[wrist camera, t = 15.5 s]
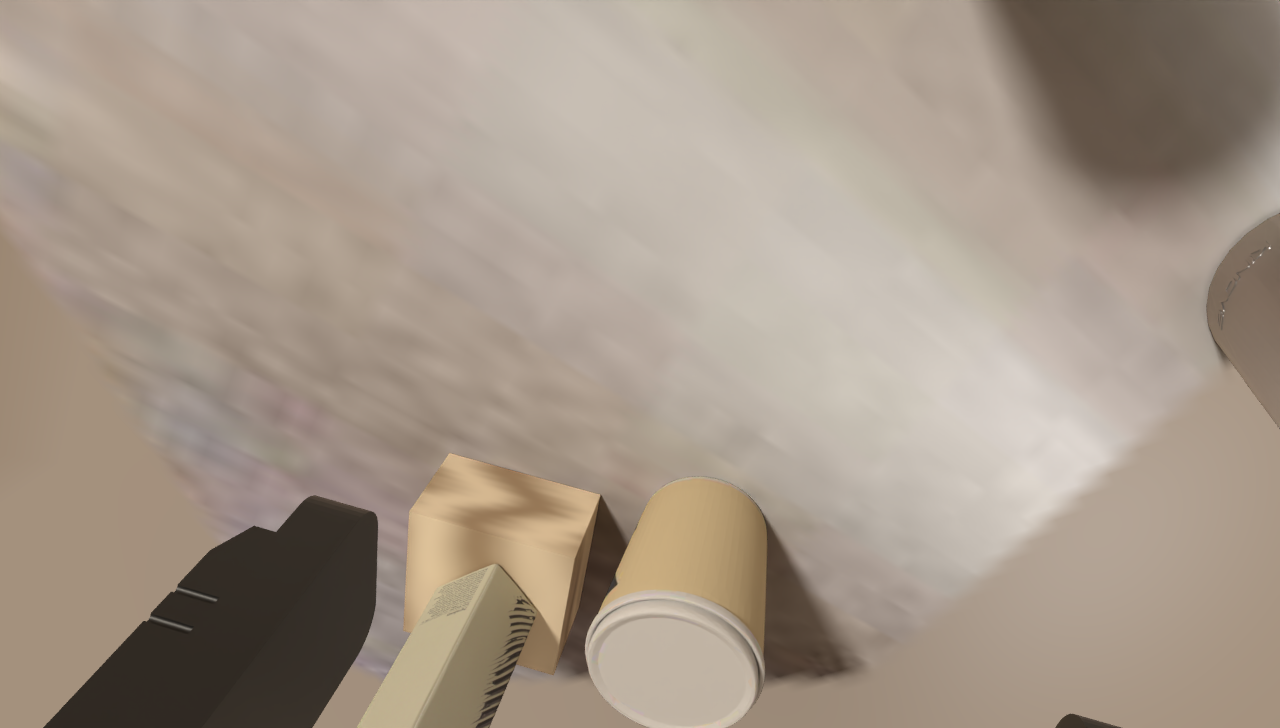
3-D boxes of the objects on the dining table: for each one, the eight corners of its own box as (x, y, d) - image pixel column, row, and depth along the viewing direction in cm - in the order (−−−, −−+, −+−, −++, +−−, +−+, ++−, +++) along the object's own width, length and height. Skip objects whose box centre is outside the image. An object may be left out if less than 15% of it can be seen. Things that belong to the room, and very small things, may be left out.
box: (478, 634, 56) (385, 823, 45) (435, 583, 54) (328, 766, 43) (544, 610, 53) (463, 803, 42) (500, 557, 52) (405, 742, 41)
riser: (600, 494, 56) (574, 558, 51) (579, 607, 61) (553, 675, 56) (449, 453, 57) (409, 511, 52) (440, 567, 62) (403, 630, 57)
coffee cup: (608, 480, 55) (552, 620, 45) (752, 450, 52) (727, 594, 42) (662, 593, 59) (621, 747, 49) (800, 571, 56) (787, 731, 46)
